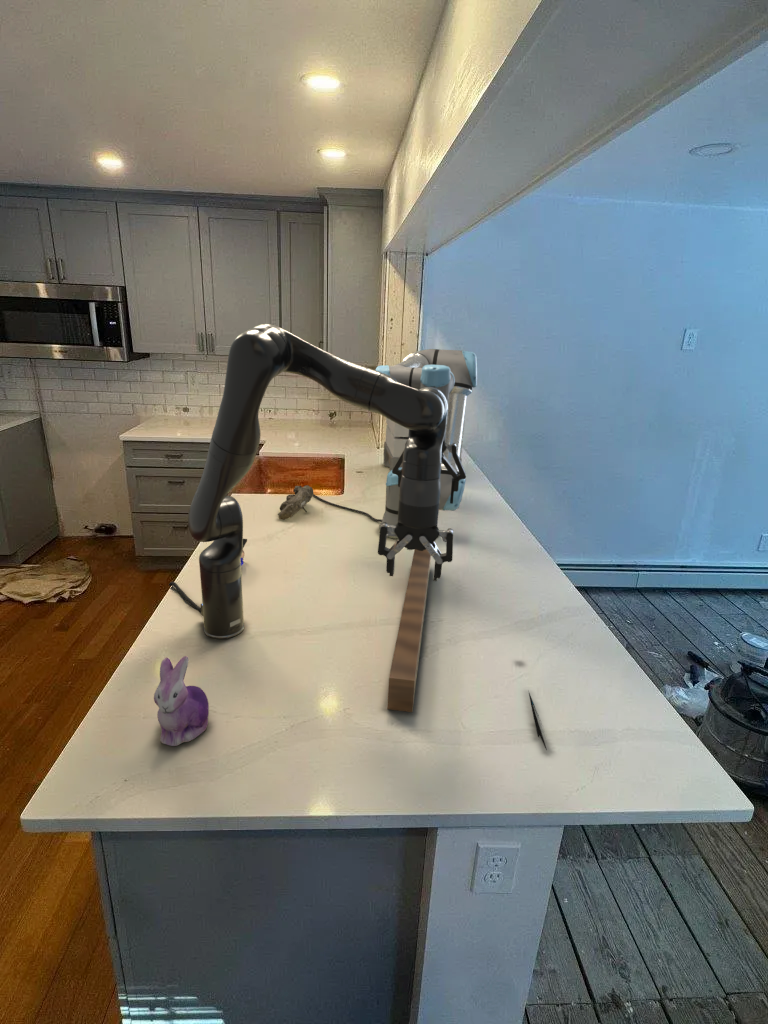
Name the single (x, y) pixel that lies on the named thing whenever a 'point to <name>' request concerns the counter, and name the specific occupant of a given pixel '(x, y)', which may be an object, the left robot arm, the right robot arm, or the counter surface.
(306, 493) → the fossil
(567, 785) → the counter surface
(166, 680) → the figurine
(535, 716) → the feather
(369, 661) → the counter surface
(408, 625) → the post
